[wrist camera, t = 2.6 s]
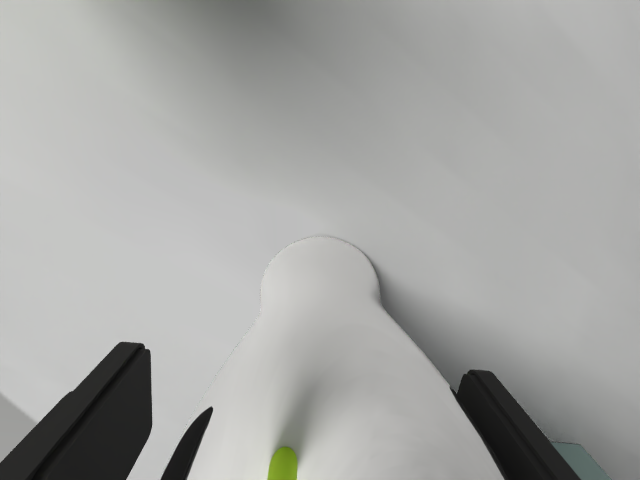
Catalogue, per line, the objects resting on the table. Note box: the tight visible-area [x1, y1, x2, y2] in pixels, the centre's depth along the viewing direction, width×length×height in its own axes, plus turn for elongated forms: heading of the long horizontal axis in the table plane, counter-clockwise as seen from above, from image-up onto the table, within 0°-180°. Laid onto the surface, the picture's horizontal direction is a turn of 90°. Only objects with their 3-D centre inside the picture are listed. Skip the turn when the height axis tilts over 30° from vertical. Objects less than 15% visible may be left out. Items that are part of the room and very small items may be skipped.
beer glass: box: [159, 236, 511, 480], centre depth 9 cm, size 7×7×15 cm
